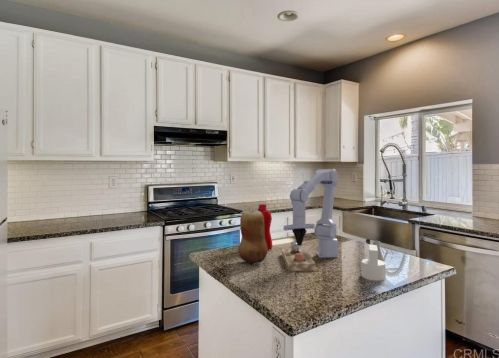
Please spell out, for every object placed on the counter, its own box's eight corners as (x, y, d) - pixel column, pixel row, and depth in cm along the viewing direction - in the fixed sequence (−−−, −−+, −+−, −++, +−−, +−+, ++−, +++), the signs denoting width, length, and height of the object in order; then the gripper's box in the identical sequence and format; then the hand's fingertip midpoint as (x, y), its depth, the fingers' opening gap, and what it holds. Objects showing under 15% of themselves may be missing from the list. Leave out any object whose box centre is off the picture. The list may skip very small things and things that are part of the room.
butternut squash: (232, 263, 143) (232, 211, 142) (252, 257, 153) (251, 208, 152) (254, 270, 133) (254, 214, 132) (273, 263, 143) (273, 210, 142)
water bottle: (249, 248, 170) (248, 204, 169) (266, 246, 174) (266, 202, 173) (256, 252, 162) (255, 205, 161) (274, 249, 166) (273, 204, 165)
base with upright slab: (386, 281, 118) (386, 251, 118) (361, 279, 121) (361, 249, 121) (384, 274, 127) (384, 245, 126) (361, 271, 130) (361, 244, 129)
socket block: (305, 254, 156) (305, 248, 156) (315, 270, 132) (315, 263, 132) (281, 255, 156) (281, 249, 156) (288, 270, 132) (287, 264, 132)
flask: (385, 261, 144) (385, 240, 144) (384, 265, 137) (384, 243, 137) (368, 259, 147) (368, 239, 147) (367, 263, 140) (367, 242, 140)
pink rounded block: (303, 262, 140) (302, 252, 140) (304, 265, 136) (304, 255, 136) (294, 262, 140) (294, 253, 140) (295, 265, 136) (295, 255, 136)
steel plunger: (298, 250, 152) (298, 241, 152) (300, 253, 148) (299, 243, 148) (290, 250, 152) (290, 242, 152) (291, 253, 148) (291, 244, 148)
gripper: (309, 213, 143) (309, 241, 143) (280, 214, 139) (281, 244, 140) (316, 215, 136) (316, 245, 137) (286, 217, 132) (287, 248, 133)
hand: (299, 245), depth 138 cm, fingers closed
